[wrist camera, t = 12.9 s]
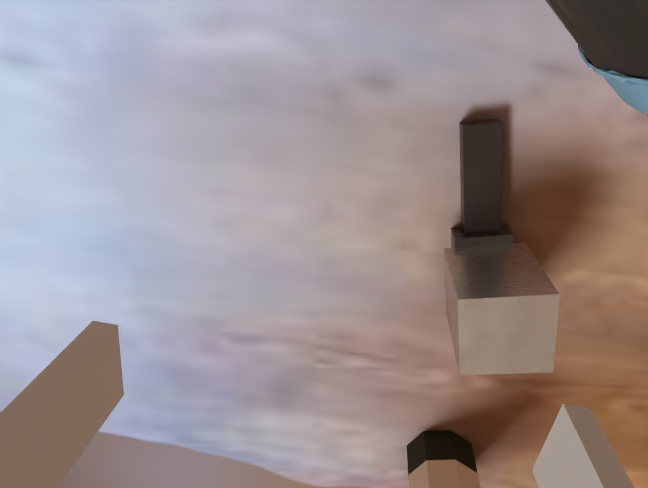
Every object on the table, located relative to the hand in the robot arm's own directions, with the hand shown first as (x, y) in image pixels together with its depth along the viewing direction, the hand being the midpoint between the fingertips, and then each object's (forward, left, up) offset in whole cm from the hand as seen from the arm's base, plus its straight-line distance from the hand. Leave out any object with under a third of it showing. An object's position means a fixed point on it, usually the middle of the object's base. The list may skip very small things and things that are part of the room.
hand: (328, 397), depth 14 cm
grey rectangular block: (+10, +13, -29) cm, 34 cm away
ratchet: (+5, +12, -32) cm, 34 cm away
